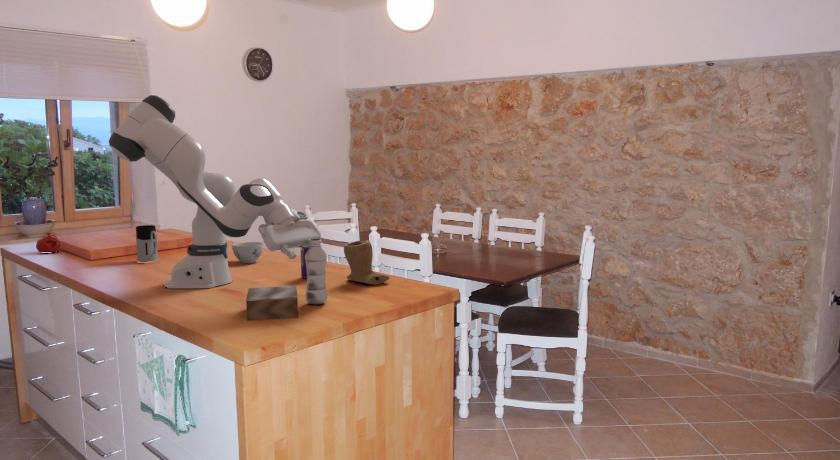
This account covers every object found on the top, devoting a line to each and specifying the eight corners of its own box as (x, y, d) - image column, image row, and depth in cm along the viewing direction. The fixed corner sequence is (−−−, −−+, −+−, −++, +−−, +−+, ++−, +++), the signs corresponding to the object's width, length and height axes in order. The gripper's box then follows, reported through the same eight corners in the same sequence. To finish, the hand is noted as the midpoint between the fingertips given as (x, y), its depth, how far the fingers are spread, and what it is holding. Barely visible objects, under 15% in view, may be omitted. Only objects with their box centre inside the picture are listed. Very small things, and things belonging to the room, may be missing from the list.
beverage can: (316, 280, 221) (315, 247, 220) (298, 279, 223) (297, 246, 221) (323, 276, 228) (322, 244, 227) (305, 275, 230) (304, 243, 228)
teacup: (270, 261, 257) (269, 242, 256) (246, 266, 247) (245, 246, 245) (246, 257, 265) (245, 239, 264) (222, 262, 255) (221, 243, 254)
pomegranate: (31, 254, 275) (29, 234, 274) (48, 250, 285) (46, 231, 284) (51, 255, 274) (48, 234, 272) (67, 250, 283) (65, 231, 282)
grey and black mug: (154, 259, 263) (151, 224, 261) (168, 263, 253) (166, 227, 251) (133, 261, 257) (130, 226, 255) (146, 266, 247) (144, 229, 245)
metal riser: (247, 320, 171) (246, 299, 170) (249, 307, 184) (248, 288, 184) (298, 317, 174) (297, 296, 173) (296, 304, 187) (296, 285, 187)
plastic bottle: (306, 301, 192) (304, 238, 189) (328, 300, 192) (326, 237, 189) (304, 306, 185) (302, 241, 182) (327, 306, 186) (325, 241, 183)
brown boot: (337, 281, 219) (337, 240, 217) (364, 276, 227) (363, 236, 225) (363, 288, 208) (362, 245, 206) (390, 283, 216) (390, 241, 214)
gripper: (260, 218, 182) (284, 254, 178) (310, 212, 199) (332, 244, 195) (251, 232, 186) (274, 267, 181) (300, 225, 202) (322, 257, 198)
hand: (305, 255), depth 188 cm, fingers open, 8 cm apart
